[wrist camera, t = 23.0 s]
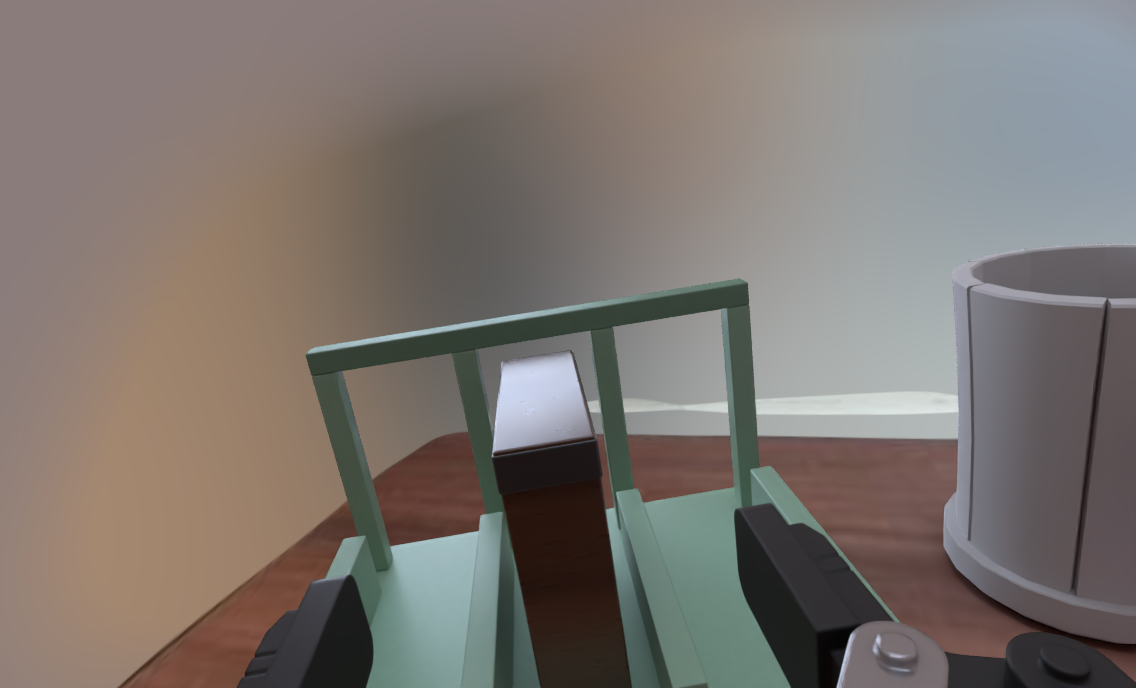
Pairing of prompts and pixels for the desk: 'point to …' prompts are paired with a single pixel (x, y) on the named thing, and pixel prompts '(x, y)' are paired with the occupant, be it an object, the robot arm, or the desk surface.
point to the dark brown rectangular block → (559, 523)
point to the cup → (1048, 435)
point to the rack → (637, 530)
